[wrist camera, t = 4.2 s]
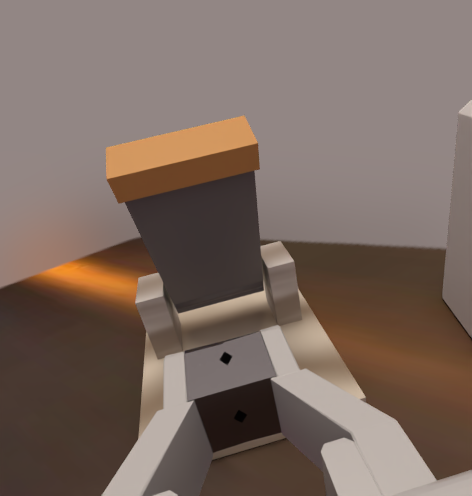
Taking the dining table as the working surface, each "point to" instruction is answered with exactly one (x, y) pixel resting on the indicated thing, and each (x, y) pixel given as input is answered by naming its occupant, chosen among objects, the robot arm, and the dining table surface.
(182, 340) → the switch base
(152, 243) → the rocker lever
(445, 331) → the dining table surface
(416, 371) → the dining table surface
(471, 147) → the milk carton
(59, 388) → the dining table surface
